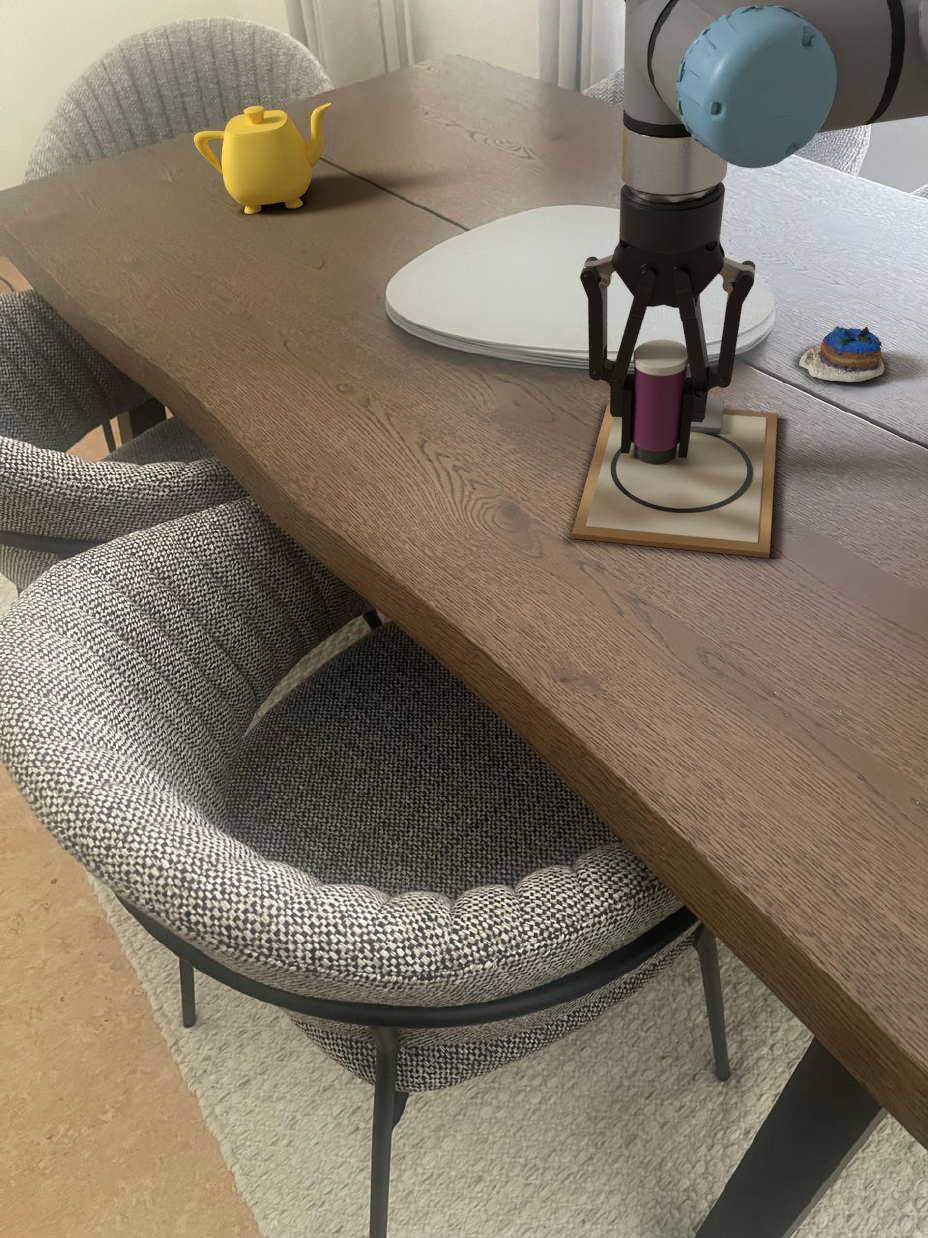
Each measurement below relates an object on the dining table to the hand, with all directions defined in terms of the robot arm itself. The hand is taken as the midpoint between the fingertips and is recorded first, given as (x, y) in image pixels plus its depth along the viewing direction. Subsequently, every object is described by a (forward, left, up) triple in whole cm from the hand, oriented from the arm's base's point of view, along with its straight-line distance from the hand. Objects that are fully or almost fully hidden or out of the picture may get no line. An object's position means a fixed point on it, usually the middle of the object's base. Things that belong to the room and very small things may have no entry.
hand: (655, 446), depth 85 cm
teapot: (+57, +61, -2) cm, 84 cm away
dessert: (+18, -17, -2) cm, 24 cm away
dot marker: (0, 0, -1) cm, 1 cm away
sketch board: (-2, -3, -1) cm, 4 cm away
